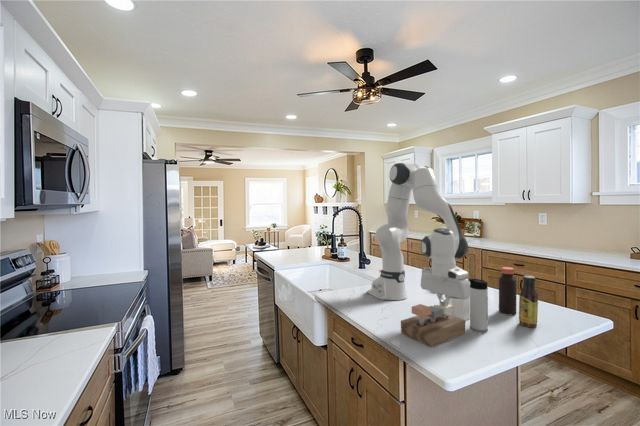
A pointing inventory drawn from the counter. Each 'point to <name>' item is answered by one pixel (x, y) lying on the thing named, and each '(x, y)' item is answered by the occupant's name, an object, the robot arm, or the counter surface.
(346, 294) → the counter surface
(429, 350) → the counter surface
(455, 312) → the jar
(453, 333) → the keypad base
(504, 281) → the vinegar
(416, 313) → the key terracotta
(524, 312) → the sauce bottle
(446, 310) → the cream block
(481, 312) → the travel mug
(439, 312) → the key slate
